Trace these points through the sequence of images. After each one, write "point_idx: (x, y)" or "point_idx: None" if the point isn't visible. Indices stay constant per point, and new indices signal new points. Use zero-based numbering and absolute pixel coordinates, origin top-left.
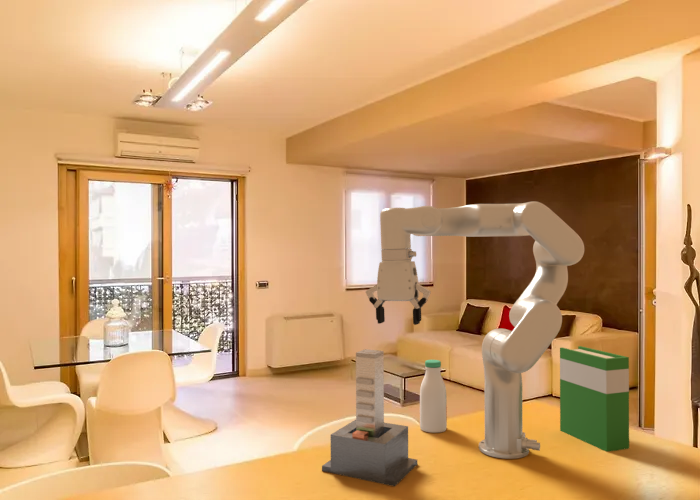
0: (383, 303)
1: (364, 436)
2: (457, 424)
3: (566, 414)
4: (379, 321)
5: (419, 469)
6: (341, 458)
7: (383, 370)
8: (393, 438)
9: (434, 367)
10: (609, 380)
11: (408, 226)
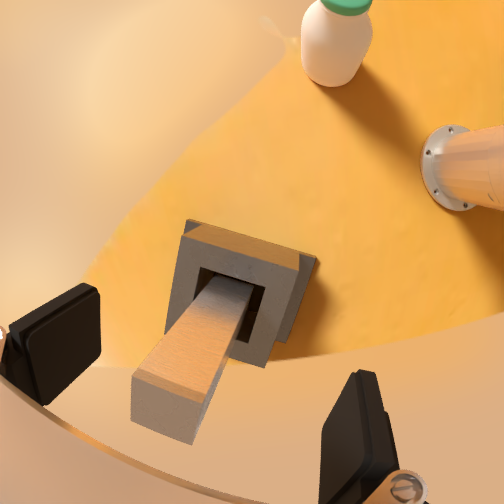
0: (2, 361)
1: None
2: (372, 33)
3: None
4: (91, 357)
5: (319, 275)
6: None
7: (219, 365)
8: (275, 337)
9: (354, 15)
10: None
11: None
